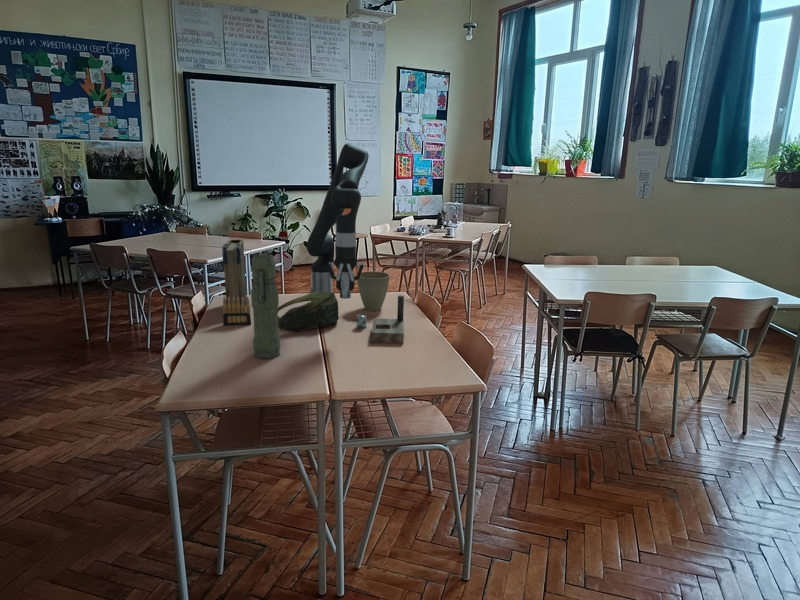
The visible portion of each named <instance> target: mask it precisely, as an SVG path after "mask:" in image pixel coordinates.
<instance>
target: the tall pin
mask: <svg viewBox="0 0 800 600" xmlns="http://www.w3.org/2000/svg"><path fill="white" fill-rule="evenodd" d="M350 281H351V278H350V275H349V272H341V275H340V290H339V298H340V299H342V300H343V299H344V300H345V299H348V300H349V299H351V297H352V296H351V295H352V293H351V292H352V291H350Z"/></svg>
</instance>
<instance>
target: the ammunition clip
mask: <svg viewBox="0 0 800 600" xmlns="http://www.w3.org/2000/svg"><path fill="white" fill-rule="evenodd" d="M222 298H223V299H222V326H224V327H225V326H227V327H228V326H229V327H230V326H235V327H236V326H252V318H251V306H250V298H249V296H248V295H246V307H245V303H244V297H243V296H242V299H241V306H240V300H239V296H237V306H236V304H235V298H234V296H233V298H232V306H231V300H230V297H229V296H228V306H227V305H226V295H224V296H223V297H222ZM236 309H237V312H236ZM227 310H228V312H227Z"/></svg>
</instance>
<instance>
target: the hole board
mask: <svg viewBox="0 0 800 600" xmlns="http://www.w3.org/2000/svg"><path fill="white" fill-rule="evenodd" d="M404 305H405V295H403V294H402V295H398V296H397V314H396V315H397V317H396V318H373V320H372V321H373V323H372V326H371V327H372V328H371V331H370V332H371V335H370V336H371V338H370V339H371V340H370V343H371V342H372V344H395V343H399V344H401V345H404V343H405V342H404V341H405V339H404V338H405V329H404V328H405V322H404V321H405V320H404V311H405V310H404V309H405V308H404V307H405V306H404Z"/></svg>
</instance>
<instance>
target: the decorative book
mask: <svg viewBox="0 0 800 600" xmlns="http://www.w3.org/2000/svg"><path fill="white" fill-rule="evenodd" d="M221 249H222V250H221V252H222V264H223V271H224V287H225V298H226V305H227V306H228V296H229V297H230V300H231V306H232V298H233V296H234V298H235V304H236V306H237V296H239V300H240V306H241V299H242V296H243V297H244V303H245V308H246V297H247V287H246V285H247V284H246V269H245V268H246V266H245V252H244V251H245V247H244V239H229V240H227V241H226V243H223V245H222V246H221ZM227 312H228V310H227ZM236 312H237V309H236Z"/></svg>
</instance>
